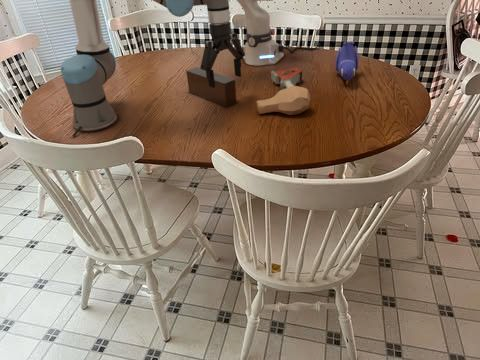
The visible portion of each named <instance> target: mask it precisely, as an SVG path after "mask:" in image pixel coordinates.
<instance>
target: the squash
mask: <svg viewBox="0 0 480 360" xmlns="http://www.w3.org/2000/svg"><path fill="white" fill-rule="evenodd" d="M311 98H312V97H311V95H310V90H309V89H307V88H306V87H302V86H298V85H294V86H292V87H289V88H287V89H280V90H279V91H277V92H276V94H275V95H274V96H272V97H271V98H265V99H257V100H256V102H255V103H256V107H257V109H256V110H257V113H258V114H259V115H263V114H266V113H273V112H275V113H282V114H284V115H287V116H295V115H300V114H301V113H303V112H305V111H306V110H308V109H309V107H310V102H311Z"/></svg>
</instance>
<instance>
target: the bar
mask: <svg viewBox="0 0 480 360" xmlns="http://www.w3.org/2000/svg"><path fill="white" fill-rule="evenodd" d="M185 73H186V79H187V80H186V81H187V87H188V93H190V94H192V95H194V96H197V97H200V98H203V99H205V100H207V101H210V102H212V103H215V104H218V105H220V106H222V107H225V108H227V107H230V106H232V105H234V104H236V103H237V89H236V79H235V78H233V77H229V76H225V75H223V74H220V73H217V72H214V81H215V88H212V87H209V82H208V79H207V77H206V71H205V70H202V69H201V68H200V67H197V66H195V67H193V68H189V69H187V70H185Z"/></svg>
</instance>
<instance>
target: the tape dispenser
mask: <svg viewBox="0 0 480 360" xmlns="http://www.w3.org/2000/svg"><path fill="white" fill-rule="evenodd" d="M290 71H291V72H290ZM286 72H290V73H288V74H286ZM270 75H271V77H270V78H271V82H274V84H275V85H280V86H279V87H280V90H283V89H287V88H289V87H292V86H297V84H300V83H301V82H302V81H303V80H302V79H303V70H302V69H301V68H300V67H292V68H287V69H280V70H271V71H270Z"/></svg>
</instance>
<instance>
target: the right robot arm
mask: <svg viewBox="0 0 480 360" xmlns="http://www.w3.org/2000/svg"><path fill="white" fill-rule="evenodd" d="M236 1H237V3H238V4H239V5H240V6H241V8H242V11H243V12H244V16H245V22H246V34H245V38H246V39H245V40H246V41H245V46H244V48H245V49H244V53H245V56H243V60H244V63H245V64H246V65H249V66H259V67H260V66H268V65H275V64H277V63H278V62H279V61H280V60H281V59H282V58H284V56H285V54H284V50H287V51H289V53H291V54H293V53H294V52H295V51H296V50H307V51H309V50H310V51H314V50H316V49H318V48H319V46H320V47H322V44H321V43H320V42H319V43H317V45H316V46H315V47H304V46H302V47H301V46H298V47H294V48H293V49H292V50H291V48H289V47H286V46H284V45H283V44H282V43H278V42H277V41H275V40H274V39H273V36H274V35H275V34H276V32H275V30H272V29H271V15H270V13H269V12H268V11H267V10H266V9H265V8H262V7H261V6H260V5H259V3H258V2H272V1H273V0H236Z"/></svg>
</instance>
